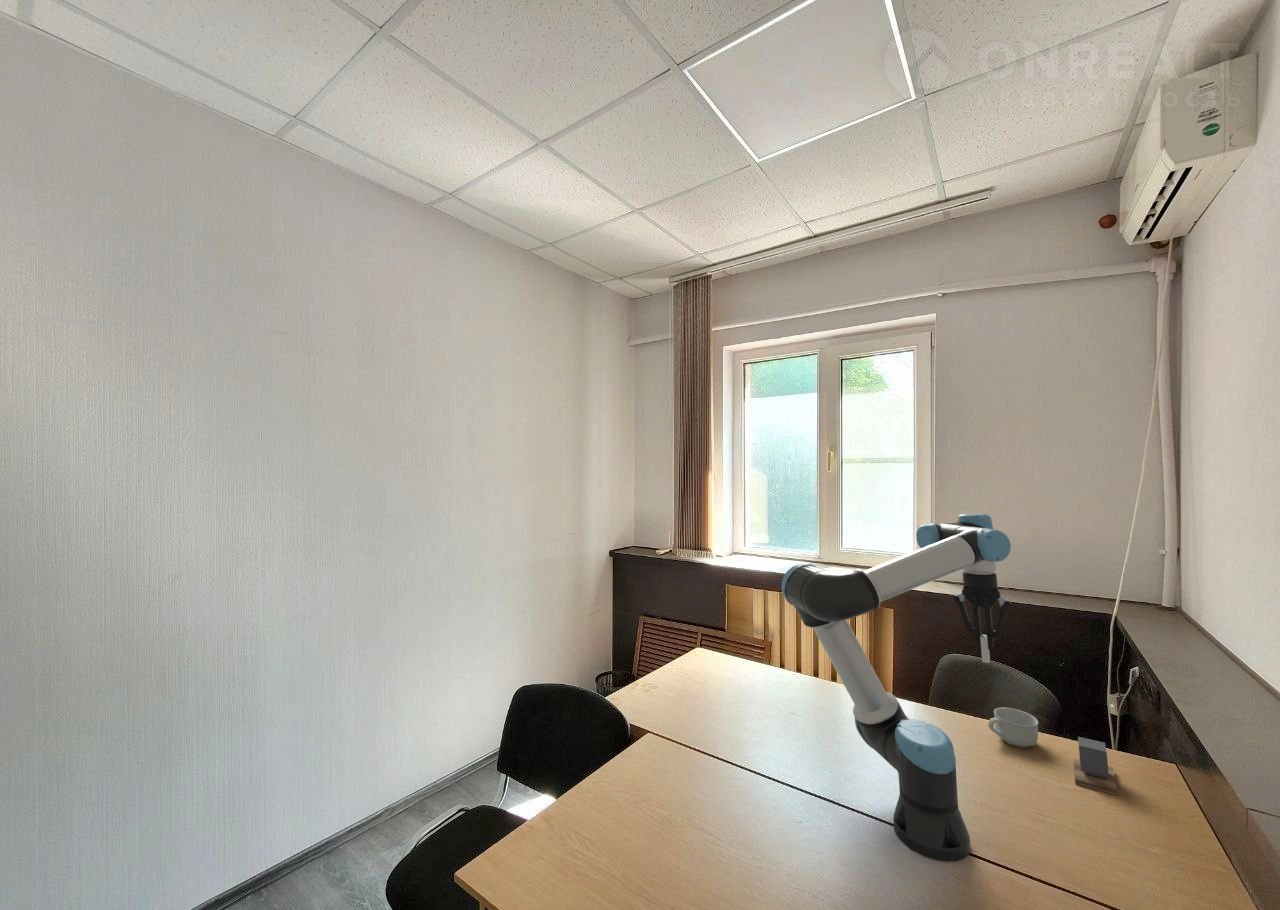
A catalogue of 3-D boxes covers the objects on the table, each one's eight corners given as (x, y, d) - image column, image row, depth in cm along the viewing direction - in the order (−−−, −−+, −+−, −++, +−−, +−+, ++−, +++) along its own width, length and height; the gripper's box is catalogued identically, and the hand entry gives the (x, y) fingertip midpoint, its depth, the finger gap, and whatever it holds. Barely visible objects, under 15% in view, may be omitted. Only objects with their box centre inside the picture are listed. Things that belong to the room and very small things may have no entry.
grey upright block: (1109, 778, 126) (1106, 751, 126) (1080, 770, 129) (1078, 745, 130) (1107, 768, 130) (1104, 742, 130) (1080, 761, 134) (1077, 736, 134)
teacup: (1024, 733, 153) (1022, 707, 153) (1049, 752, 142) (1047, 724, 142) (977, 732, 154) (975, 707, 155) (998, 751, 143) (996, 724, 144)
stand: (1117, 795, 122) (1114, 761, 123) (1075, 783, 128) (1072, 751, 128) (1113, 772, 132) (1110, 741, 132) (1073, 762, 137) (1071, 732, 137)
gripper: (1010, 571, 130) (1017, 661, 128) (952, 567, 138) (959, 651, 137) (1008, 576, 124) (1016, 670, 123) (948, 571, 132) (955, 660, 131)
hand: (986, 660), depth 130 cm, fingers closed
